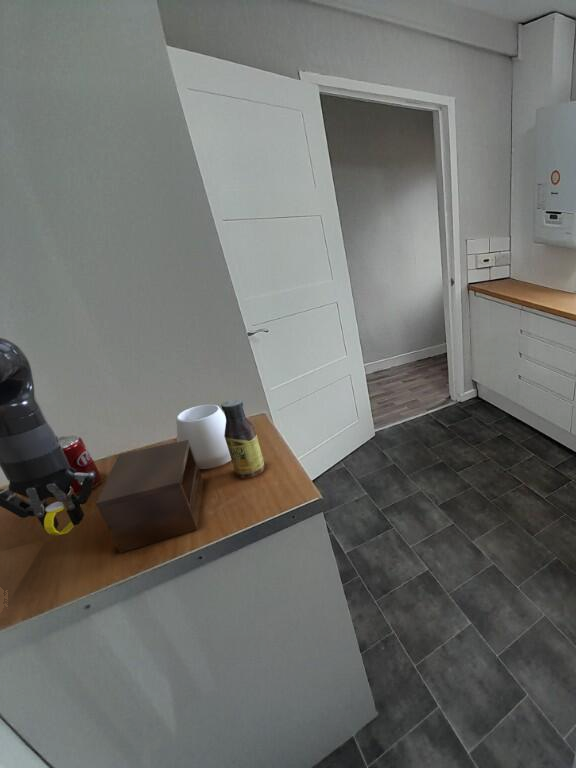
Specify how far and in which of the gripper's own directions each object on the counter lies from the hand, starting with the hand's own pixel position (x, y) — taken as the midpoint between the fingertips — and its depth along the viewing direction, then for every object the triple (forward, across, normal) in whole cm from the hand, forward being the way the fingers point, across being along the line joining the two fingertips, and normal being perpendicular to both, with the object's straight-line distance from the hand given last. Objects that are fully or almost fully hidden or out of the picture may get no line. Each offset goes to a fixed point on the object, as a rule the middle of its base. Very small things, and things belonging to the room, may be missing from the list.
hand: (66, 524), depth 79 cm
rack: (+3, +15, 0) cm, 15 cm away
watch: (+1, 0, 0) cm, 1 cm away
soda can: (+4, -3, +21) cm, 21 cm away
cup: (+3, +23, +19) cm, 30 cm away
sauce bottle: (+3, +31, +8) cm, 32 cm away
